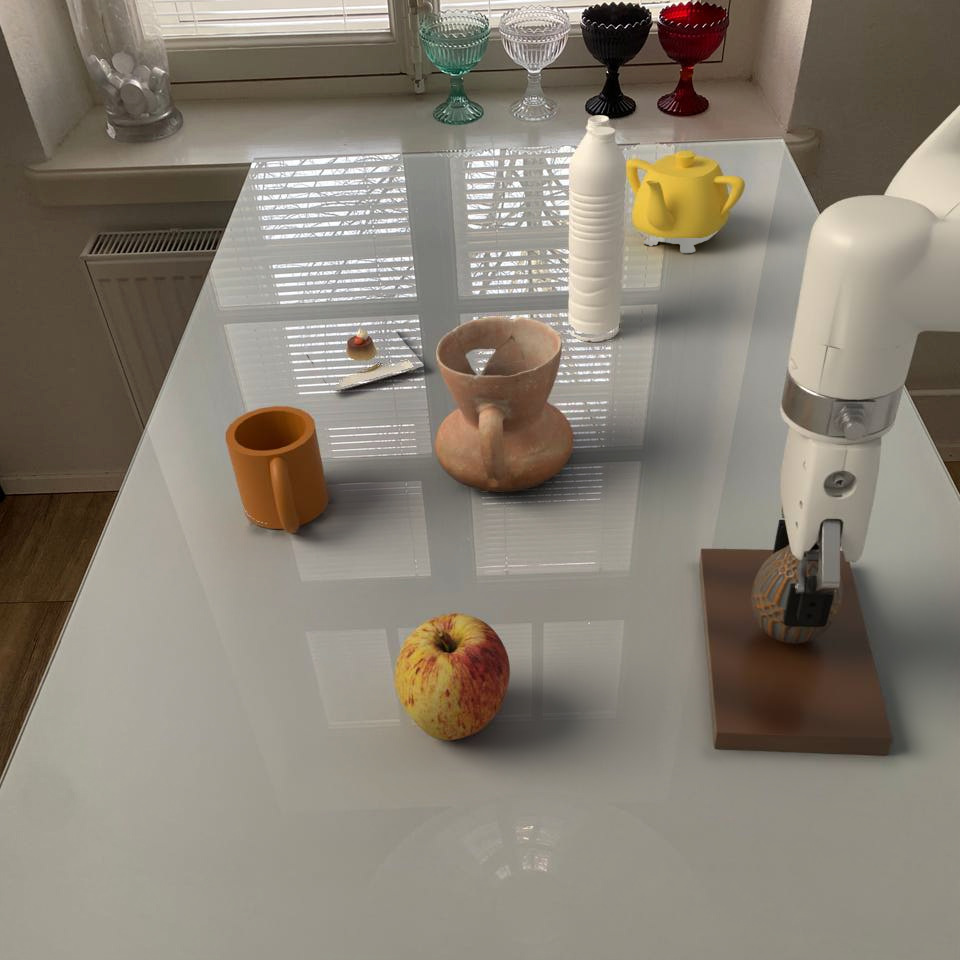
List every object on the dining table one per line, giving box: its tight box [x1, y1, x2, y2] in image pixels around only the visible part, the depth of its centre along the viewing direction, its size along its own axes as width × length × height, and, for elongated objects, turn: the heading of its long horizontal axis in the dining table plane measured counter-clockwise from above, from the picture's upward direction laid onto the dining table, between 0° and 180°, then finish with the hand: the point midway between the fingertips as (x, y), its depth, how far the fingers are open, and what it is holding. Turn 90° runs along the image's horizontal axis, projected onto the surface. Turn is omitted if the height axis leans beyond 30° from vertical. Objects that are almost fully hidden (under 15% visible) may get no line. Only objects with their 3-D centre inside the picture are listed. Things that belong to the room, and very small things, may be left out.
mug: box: [225, 405, 330, 534], centre depth 99 cm, size 9×12×9 cm
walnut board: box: [698, 548, 894, 756], centre depth 83 cm, size 22×13×2 cm, turn 174°
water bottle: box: [567, 114, 627, 343], centre depth 116 cm, size 9×6×25 cm
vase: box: [751, 543, 842, 644], centre depth 79 cm, size 7×7×9 cm
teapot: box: [626, 149, 746, 238], centre depth 138 cm, size 14×14×12 cm
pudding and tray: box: [336, 327, 416, 392], centre depth 121 cm, size 12×12×5 cm
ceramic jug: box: [434, 315, 575, 493], centre depth 100 cm, size 18×14×14 cm
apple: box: [394, 612, 511, 741], centre depth 77 cm, size 9×9×10 cm
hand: (798, 589), depth 79 cm, fingers closed on vase, 6 cm apart
